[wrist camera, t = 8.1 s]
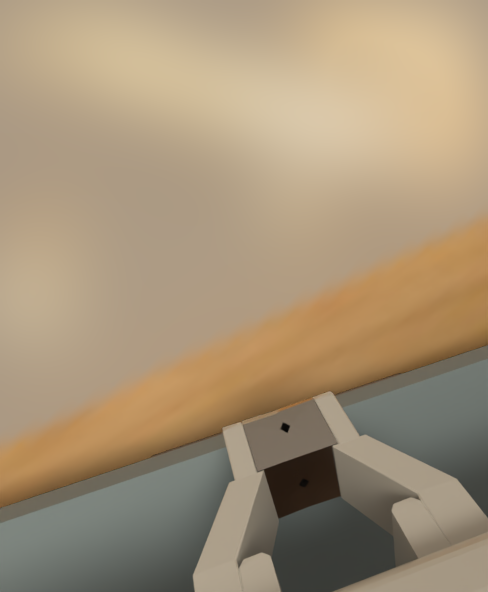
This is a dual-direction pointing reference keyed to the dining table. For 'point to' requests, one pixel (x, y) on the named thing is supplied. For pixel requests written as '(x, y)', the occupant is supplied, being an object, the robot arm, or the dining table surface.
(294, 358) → the dining table surface
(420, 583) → the robot arm
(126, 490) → the tailgate
